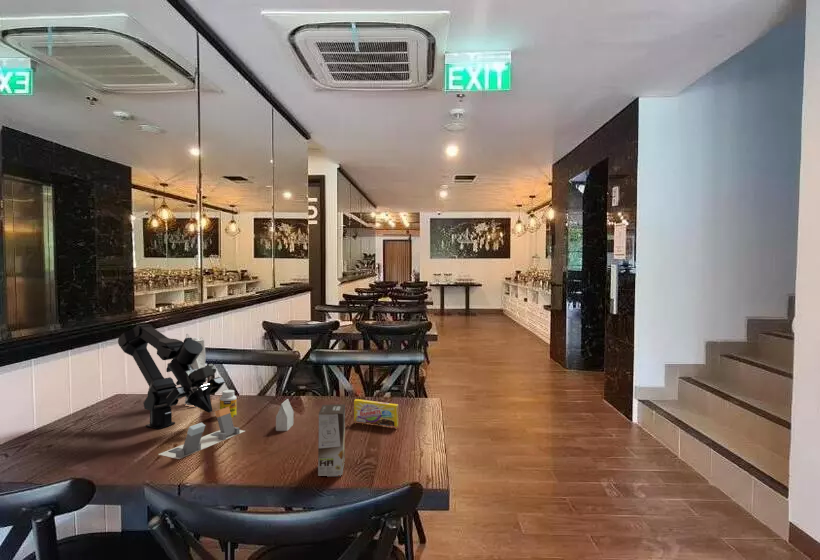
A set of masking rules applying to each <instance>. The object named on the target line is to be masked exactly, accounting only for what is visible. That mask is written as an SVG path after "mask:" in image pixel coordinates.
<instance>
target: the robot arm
mask: <svg viewBox="0 0 820 560" xmlns="http://www.w3.org/2000/svg"><path fill="white" fill-rule="evenodd" d="M192 338H193V337H190V338H186V337H185V338H184V340H183V341H182V340H180V339H177V338H169V337H167V336H166V335H165V334H163V333H162V332H160V331H159V330H157V329H156V328H155V327H154V326H153V325H152V324H139V325H136V326H134V327H133V328H132V329H129V330H126V331H125V332H123V333H121V334H120V336H119V337H118V339H117V343H118V344H117V345H118V346H119V347H120V349H121V350H122V351H123V353H125V354H126V355H129V356H131V357H132V358H133V360H134V362H135V364H136V365H137V367H138V368H139V370H140V372H141V374H142V376H143V377H144V378H143V379H145V382H146V383H147V386H148V391H147V397H146V398H145V399H144V401H143V407H144V410H148V411H149V423H148V424H145V427H147V428H150V427H151V429H157V430H159V429H164V428H166V427H169V426H172V425H175V424H176V422H175V421H172V420H173V419H172V416H173V415H172V414H173V413H172V407H174V406H177V405H178V404H179V399H181V398H185V396H186V397H187V399H188V400H187V401H186V402H185V401H184V404H185V403H186V404H188V403H189V404H191V405H194V406H196V407H198V409H200V410H203V411H204V412H206V413H212V412H213V406H212V401H211V395H214V394H216V393H217V392H218V391H219V390H220V389H221V388H222V386H224V384H225V383H226V381H225V380H224V378H223V377H222V376H217V377H213V376H215V373H217V368H216V366H215V365H214V364H213V363H209V364H207V365H205V367H203V368H200V369H194V368H193V367H192V365H191V364H193V363H194V362H195V360H196V359H197V357H198V356H199V355H200V353H201V352H202V350H203V347H202V345H201V344H200V343H199V342H197V341H195V340H192ZM148 344H149V345H151V346H152V347H153V348H155V350H156V354H157V356H158V357H159V358H160V359H161V360H162V361H169V360H171V361H170V362H168V363H167V366H166V369H165V370H166V373H169V372H172V375H173V376H174V377H175V378H176V381H175V382H174V380H173V378H172V377H170V376H169V377H164V375H163V374H162V373H161V371H160V369H159V367H158V366H157V363H156V362H155V360H154V359H153V357H152V355H151V353H150V352H149V350H148ZM209 377H213V378H210V379H209V380H208V378H209ZM206 382H207V383H206ZM205 383H206V384H205Z"/></svg>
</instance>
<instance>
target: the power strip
mask: <svg viewBox="0 0 820 560" xmlns="http://www.w3.org/2000/svg"><path fill="white" fill-rule="evenodd" d="M234 429H235V433H232V434H230V435H227V436H226V433H222V432H220V429H219V430H216V431H214V432H211V433H209V434H206V435H202V437H201V440H200V443H199V446H198V449H197V451H195V452H192V453H190V454H188V455H184V450H182V449H183V446H184V443H183V444H180V445H178V446H176V447H172V448H171V449H168V450H166V451H162V452H161V453H158V456H164V457H168V458H172V459H177V460H180V459H183V458H185V457H188V456H190V455H192V454H195V453H197V452H199V451H202V450H205V449H207V448H209V447H211V446H214V445H216V444H218V443H220V442H223V441H226V440H228V439H230V438H233V437H236V436H238V435H240V434H242V433H245V432H246V430H242V429H240V427H238V426H237V427H236V426H234Z"/></svg>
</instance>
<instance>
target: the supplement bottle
mask: <svg viewBox="0 0 820 560" xmlns="http://www.w3.org/2000/svg"><path fill="white" fill-rule="evenodd" d="M221 395H222V396H221V397H219V410H220V409H223V408H226V407H229V409H230V414H231V418H232V419H233V418H235V417H236V416H237V408H238V407H237V403H238V402H237V401H238V398H237V395H235V390H234V389H225V390H223V391H222V393H221Z"/></svg>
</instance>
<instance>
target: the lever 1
mask: <svg viewBox="0 0 820 560" xmlns="http://www.w3.org/2000/svg"><path fill="white" fill-rule="evenodd" d="M206 426H207V425H206V424H204V423H203V422H202V421H201V422H200V423H196V424H193V425H190V426H188V429H187V433H186V437H185V440H184V442H183V444H184V446H183V449H182V450H184V455H188V454H190V453H192V452H195V451H197V449H198V446H199V443H200V440H201V437H203V434H204V431H205V428H206ZM197 452H198V451H197ZM195 453H196V452H195ZM190 455H191V454H190ZM188 456H189V455H188Z"/></svg>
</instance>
